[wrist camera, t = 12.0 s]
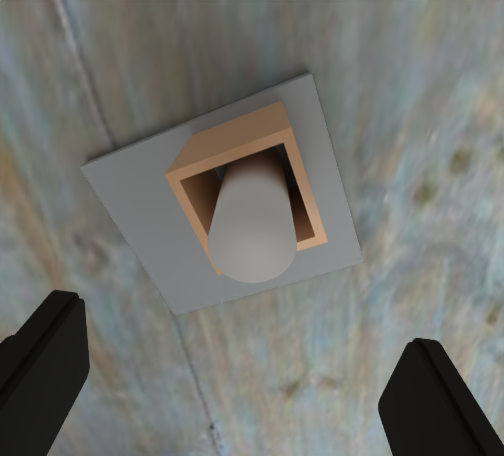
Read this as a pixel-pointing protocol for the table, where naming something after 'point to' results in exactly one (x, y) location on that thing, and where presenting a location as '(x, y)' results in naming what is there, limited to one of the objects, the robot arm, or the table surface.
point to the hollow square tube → (232, 148)
